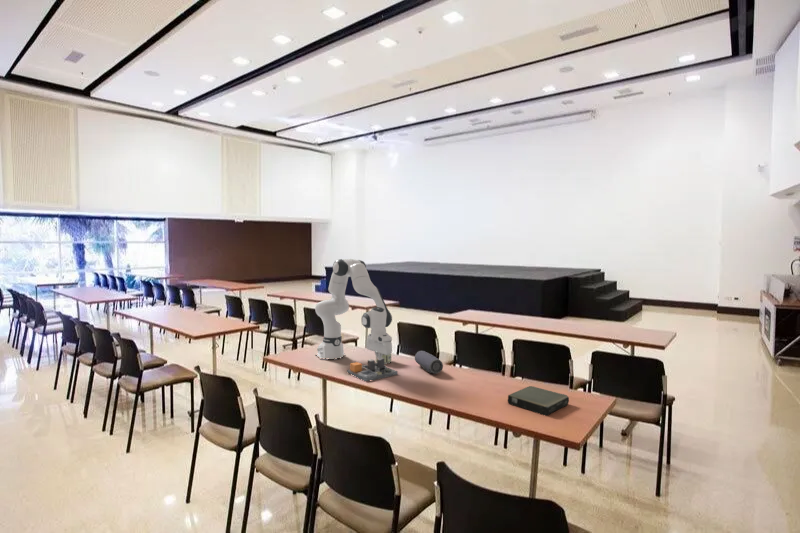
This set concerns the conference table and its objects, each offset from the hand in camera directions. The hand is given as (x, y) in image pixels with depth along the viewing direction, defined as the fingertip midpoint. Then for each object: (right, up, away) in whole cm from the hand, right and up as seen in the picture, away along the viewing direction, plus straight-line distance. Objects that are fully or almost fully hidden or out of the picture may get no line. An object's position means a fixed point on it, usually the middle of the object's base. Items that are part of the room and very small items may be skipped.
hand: (378, 359), depth 259 cm
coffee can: (+1, -8, +32) cm, 33 cm away
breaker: (+1, -7, +10) cm, 13 cm away
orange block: (-14, -8, +6) cm, 17 cm away
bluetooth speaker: (+29, -9, +13) cm, 34 cm away
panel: (-4, -10, +5) cm, 12 cm away
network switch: (+79, -13, -42) cm, 90 cm away
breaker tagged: (-5, -7, +6) cm, 11 cm away
